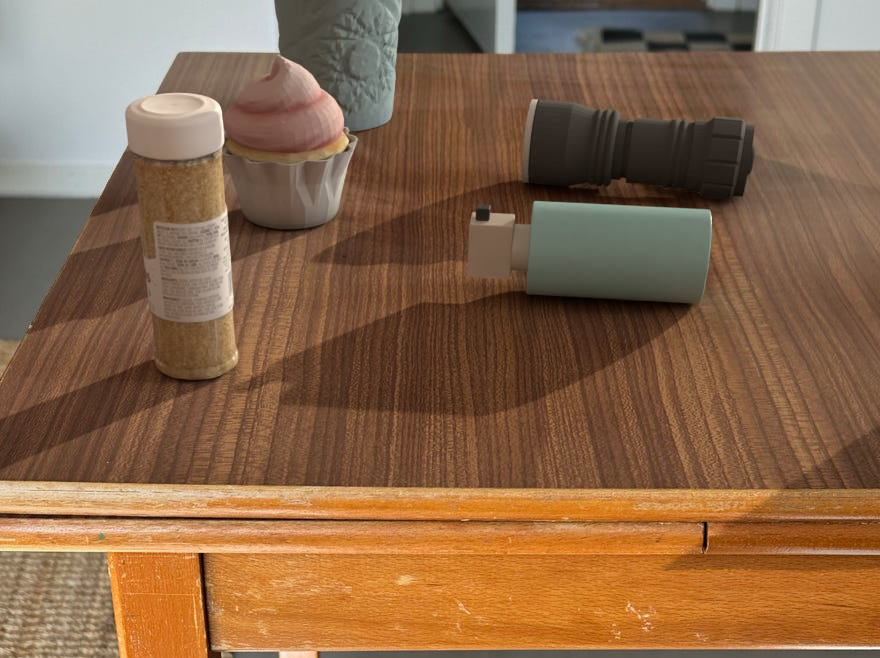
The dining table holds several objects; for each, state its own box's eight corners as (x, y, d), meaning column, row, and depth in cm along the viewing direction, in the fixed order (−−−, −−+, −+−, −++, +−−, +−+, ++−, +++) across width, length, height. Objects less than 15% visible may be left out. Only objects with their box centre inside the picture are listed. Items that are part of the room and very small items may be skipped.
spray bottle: (695, 282, 79) (708, 196, 76) (700, 318, 75) (714, 229, 72) (471, 269, 81) (474, 184, 77) (464, 305, 77) (467, 217, 73)
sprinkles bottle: (163, 344, 72) (134, 88, 64) (246, 346, 72) (228, 90, 64) (147, 383, 69) (114, 117, 60) (234, 385, 69) (213, 119, 60)
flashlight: (747, 185, 93) (761, 106, 89) (746, 213, 89) (761, 130, 85) (530, 167, 95) (536, 89, 92) (519, 193, 91) (525, 112, 88)
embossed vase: (301, 91, 109) (295, -71, 102) (419, 102, 107) (422, -62, 100) (258, 129, 102) (248, -44, 94) (385, 141, 100) (385, -34, 92)
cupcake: (219, 191, 91) (206, 36, 85) (354, 187, 92) (351, 33, 86) (217, 243, 84) (204, 77, 77) (364, 238, 84) (363, 74, 78)
